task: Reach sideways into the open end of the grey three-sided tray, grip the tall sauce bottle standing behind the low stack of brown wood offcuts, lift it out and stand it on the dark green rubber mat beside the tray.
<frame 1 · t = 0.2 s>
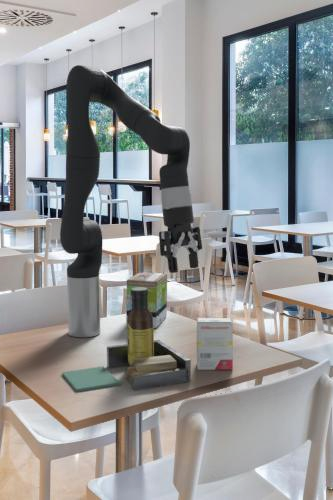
hand: (184, 270, 150), 22 cm above the table, tool pointing down, fingers open, 8 cm apart
ink box: (214, 367, 145), on the table
sauce bottle: (140, 370, 143), on the table
grey three-sided tray: (146, 374, 140), on the table
green rubber mat: (90, 379, 136), on the table
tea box: (147, 322, 188), on the table
offcut stack: (153, 379, 136), on the table
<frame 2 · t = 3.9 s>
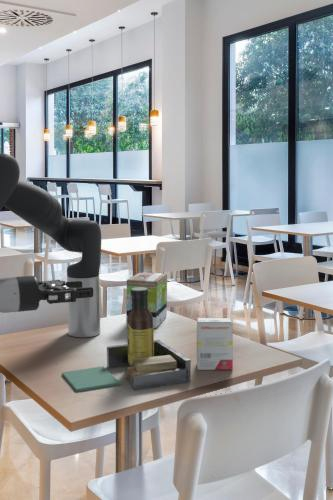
hand: (87, 288, 135), 21 cm above the table, tool horizontal, fingers open, 8 cm apart
nothing on the table moved.
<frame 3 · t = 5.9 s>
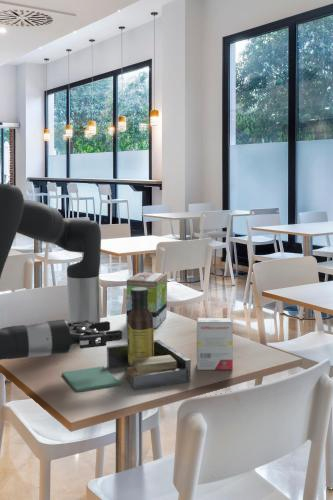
hand: (115, 330, 139), 10 cm above the table, tool horizontal, fingers open, 8 cm apart
nothing on the table moved.
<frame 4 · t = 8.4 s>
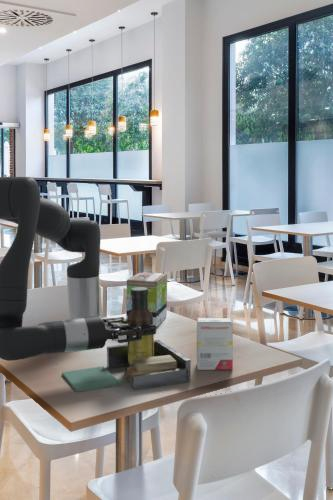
hand: (149, 325, 142), 11 cm above the table, tool horizontal, fingers closed on sauce bottle, 6 cm apart
sauce bottle: (140, 370, 143), on the table, touching gripper
everything else where it was.
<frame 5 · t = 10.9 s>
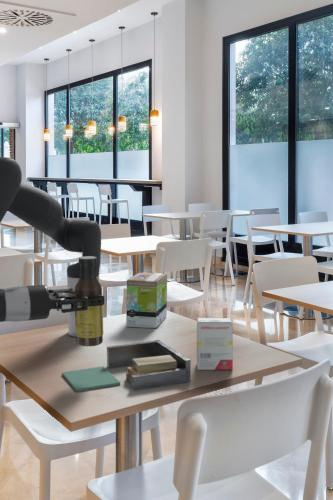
hand: (98, 297, 136), 19 cm above the table, tool horizontal, fingers closed on sauce bottle, 6 cm apart
sauce bottle: (89, 344, 136), point 8 cm above the table, touching gripper
everything else where it was.
when the fingers open (12 cm above the table, at t = 13.4 s): sauce bottle stays where it is, resting on green rubber mat.
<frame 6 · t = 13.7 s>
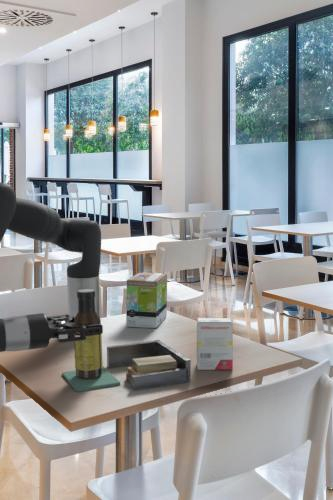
hand: (96, 324, 136), 12 cm above the table, tool horizontal, fingers open, 8 cm apart
sauce bottle: (88, 376, 137), resting on green rubber mat
everything else where it was.
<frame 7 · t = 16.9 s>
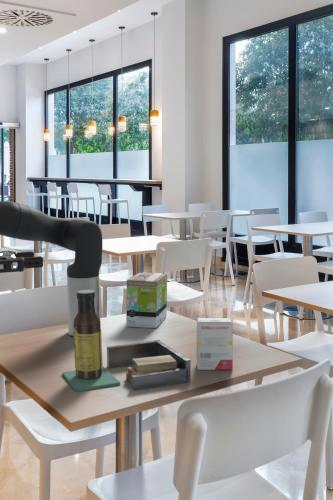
hand: (38, 259, 129), 28 cm above the table, tool horizontal, fingers open, 8 cm apart
nothing on the table moved.
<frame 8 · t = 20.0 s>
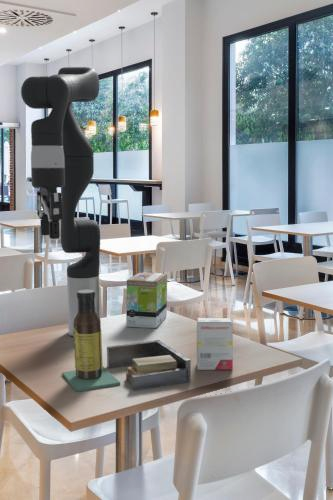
hand: (50, 236, 139), 32 cm above the table, tool pointing down, fingers open, 8 cm apart
nothing on the table moved.
at the end: sauce bottle inside the target area on the green rubber mat (1.0 cm from its centre), point 0.4 cm above the green rubber mat's base; sauce bottle tilted 0°; the gripper is holding nothing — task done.
